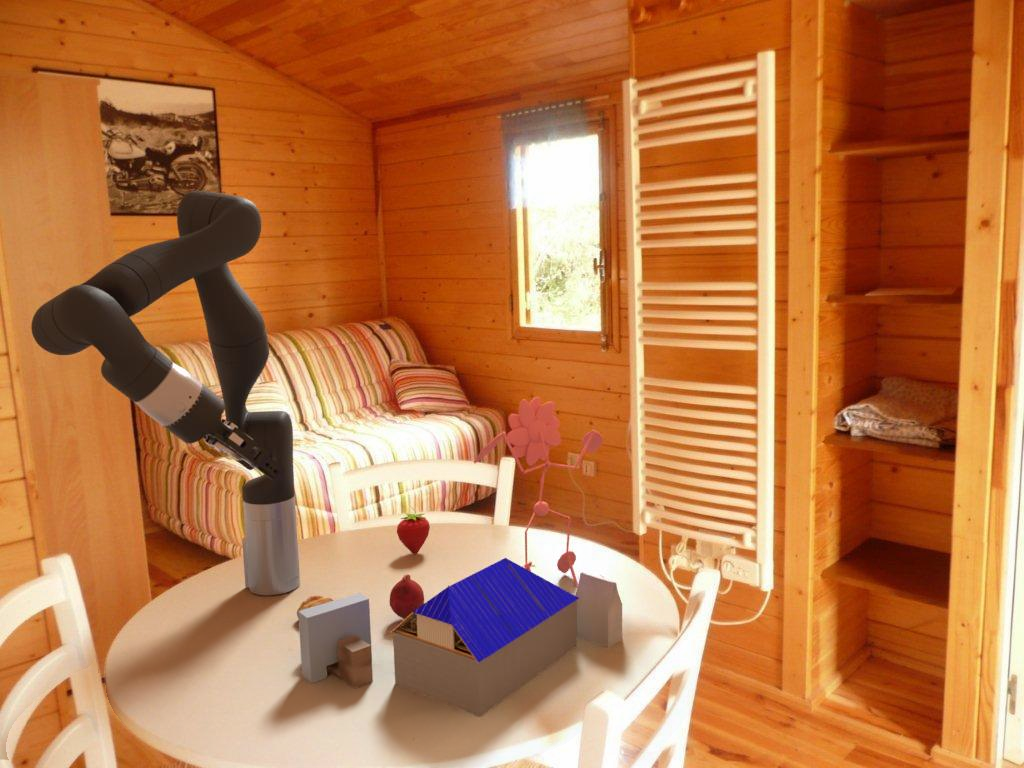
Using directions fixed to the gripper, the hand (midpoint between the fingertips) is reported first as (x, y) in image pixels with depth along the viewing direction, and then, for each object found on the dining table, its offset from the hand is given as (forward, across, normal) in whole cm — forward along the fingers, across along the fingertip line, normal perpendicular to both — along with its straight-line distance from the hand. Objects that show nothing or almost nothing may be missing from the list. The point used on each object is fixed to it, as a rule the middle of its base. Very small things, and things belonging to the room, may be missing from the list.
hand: (266, 470), depth 121 cm
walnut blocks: (+27, -6, +17) cm, 32 cm away
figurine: (+58, 0, -14) cm, 59 cm away
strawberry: (+51, +27, -8) cm, 59 cm away
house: (+39, -20, +5) cm, 44 cm away
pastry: (+31, +11, +13) cm, 35 cm away
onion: (+38, +2, +5) cm, 39 cm away
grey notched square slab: (+26, -6, +17) cm, 32 cm away
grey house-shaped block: (+52, -24, -8) cm, 58 cm away
